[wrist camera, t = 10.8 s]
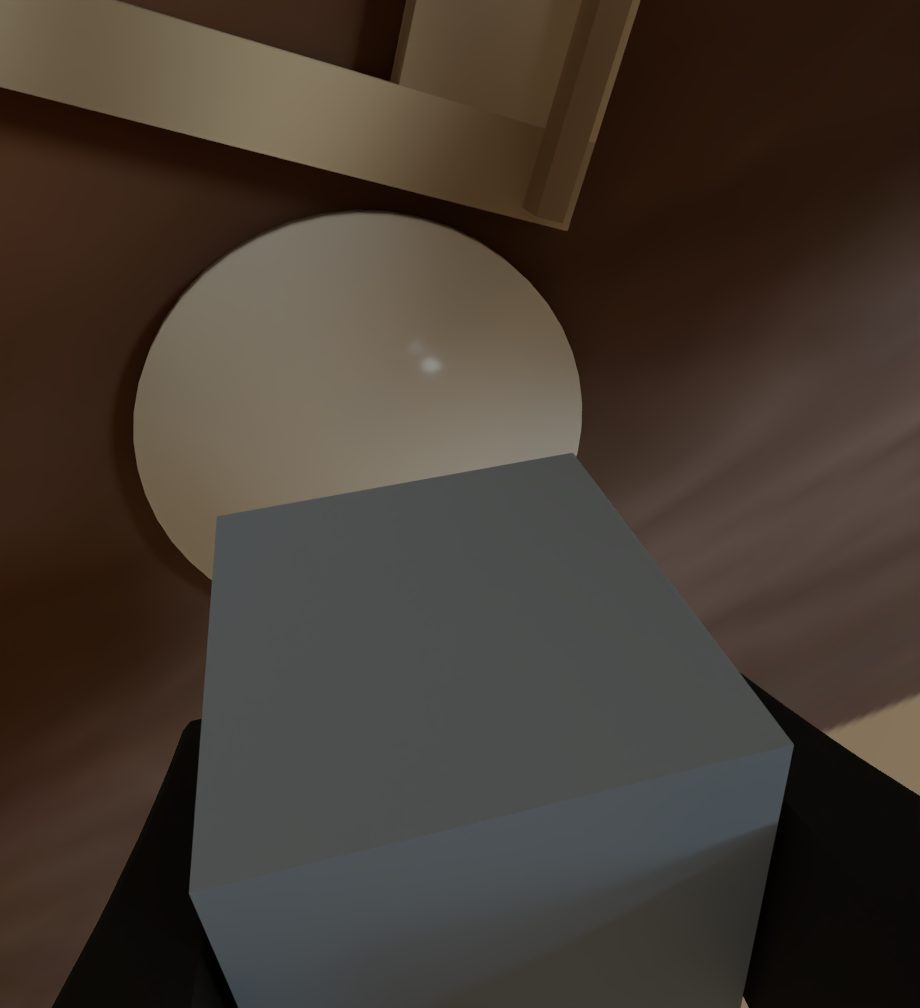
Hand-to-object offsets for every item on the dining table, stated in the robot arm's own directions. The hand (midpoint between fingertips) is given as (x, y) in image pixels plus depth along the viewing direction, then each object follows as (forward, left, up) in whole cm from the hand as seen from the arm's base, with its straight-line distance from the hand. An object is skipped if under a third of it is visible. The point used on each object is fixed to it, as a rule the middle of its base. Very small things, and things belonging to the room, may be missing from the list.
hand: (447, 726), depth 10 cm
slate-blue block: (0, 0, -2) cm, 2 cm away
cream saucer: (0, 0, -8) cm, 8 cm away
